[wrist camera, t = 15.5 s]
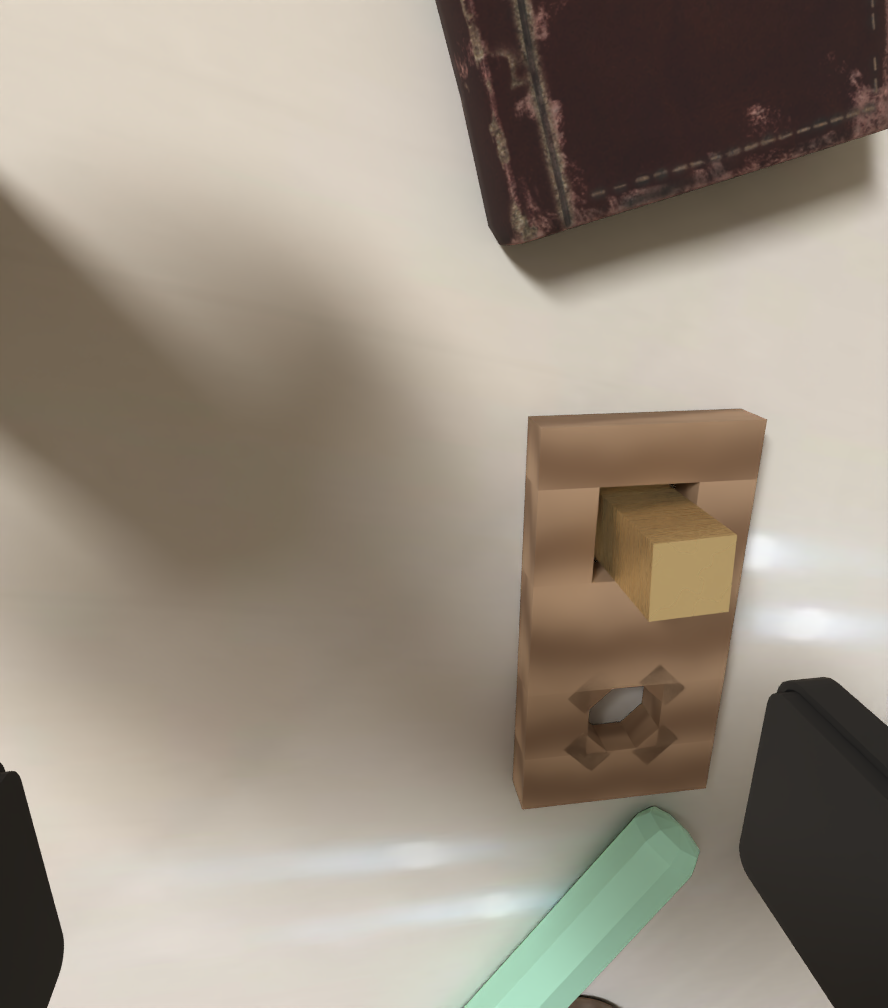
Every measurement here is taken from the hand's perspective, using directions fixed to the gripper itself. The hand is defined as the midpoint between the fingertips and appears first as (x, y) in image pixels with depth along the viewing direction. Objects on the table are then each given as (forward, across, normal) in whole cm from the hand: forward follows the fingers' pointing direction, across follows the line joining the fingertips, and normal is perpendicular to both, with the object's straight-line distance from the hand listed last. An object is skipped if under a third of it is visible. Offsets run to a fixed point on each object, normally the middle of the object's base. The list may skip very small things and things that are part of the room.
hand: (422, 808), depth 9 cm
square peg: (+28, -15, +8) cm, 33 cm away
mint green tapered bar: (+28, -13, +40) cm, 50 cm away
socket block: (+28, -15, +14) cm, 35 cm away
